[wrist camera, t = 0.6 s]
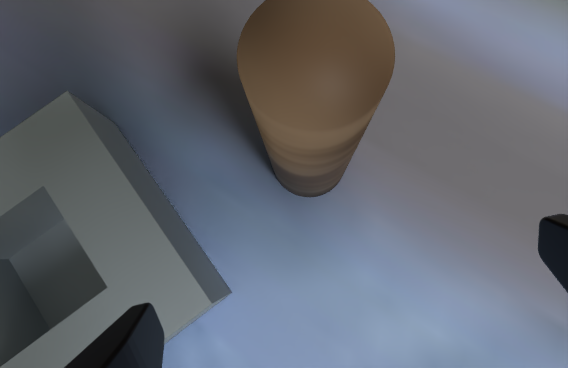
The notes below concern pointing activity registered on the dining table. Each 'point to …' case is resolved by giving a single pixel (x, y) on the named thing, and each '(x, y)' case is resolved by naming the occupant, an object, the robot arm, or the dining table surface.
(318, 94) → the walnut peg
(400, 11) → the dining table surface
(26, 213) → the socket block
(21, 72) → the dining table surface
